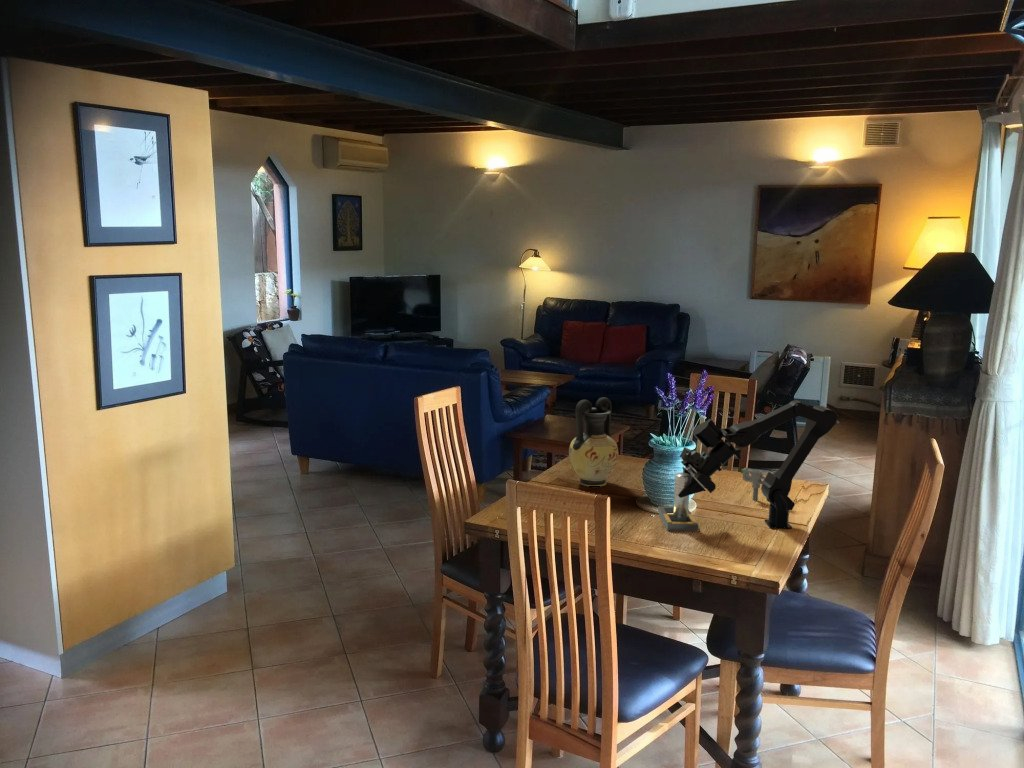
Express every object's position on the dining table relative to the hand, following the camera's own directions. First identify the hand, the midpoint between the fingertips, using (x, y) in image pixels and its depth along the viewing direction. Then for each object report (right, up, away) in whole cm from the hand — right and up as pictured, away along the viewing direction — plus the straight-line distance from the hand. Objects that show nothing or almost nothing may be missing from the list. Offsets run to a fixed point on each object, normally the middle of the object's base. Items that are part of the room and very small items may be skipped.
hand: (677, 494), depth 249 cm
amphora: (-21, -2, +43) cm, 47 cm away
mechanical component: (+31, -6, +27) cm, 42 cm away
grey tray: (+1, -9, +5) cm, 10 cm away
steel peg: (+1, -7, +1) cm, 7 cm away
